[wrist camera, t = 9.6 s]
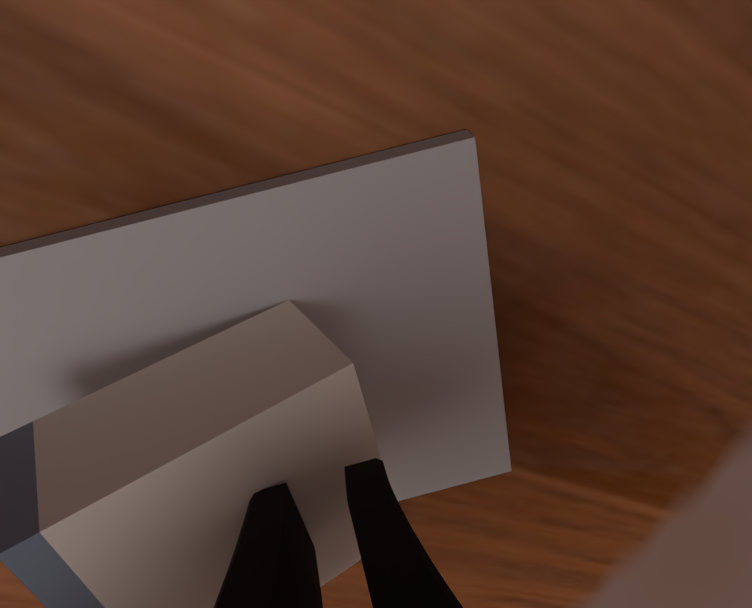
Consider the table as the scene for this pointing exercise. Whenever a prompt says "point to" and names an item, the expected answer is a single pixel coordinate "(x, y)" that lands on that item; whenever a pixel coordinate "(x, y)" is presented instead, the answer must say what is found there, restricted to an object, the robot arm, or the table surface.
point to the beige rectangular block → (184, 468)
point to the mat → (281, 283)
